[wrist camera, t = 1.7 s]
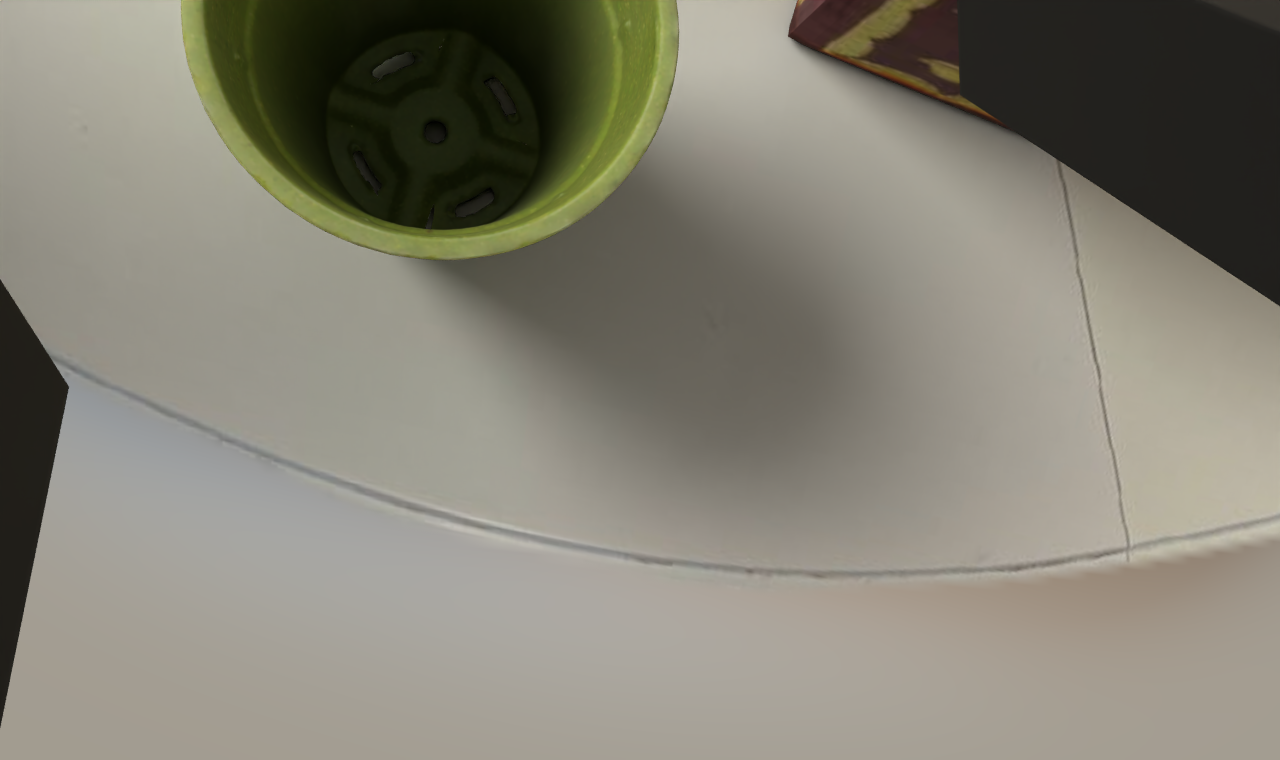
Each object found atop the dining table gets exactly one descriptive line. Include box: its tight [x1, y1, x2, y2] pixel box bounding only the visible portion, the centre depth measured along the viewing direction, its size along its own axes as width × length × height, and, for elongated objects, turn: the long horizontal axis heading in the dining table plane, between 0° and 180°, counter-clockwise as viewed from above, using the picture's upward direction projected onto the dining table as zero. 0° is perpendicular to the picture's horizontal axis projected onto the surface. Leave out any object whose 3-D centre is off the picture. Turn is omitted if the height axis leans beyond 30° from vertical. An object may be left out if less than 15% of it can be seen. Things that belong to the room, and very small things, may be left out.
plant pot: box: [181, 0, 679, 260], centre depth 33 cm, size 12×12×11 cm
